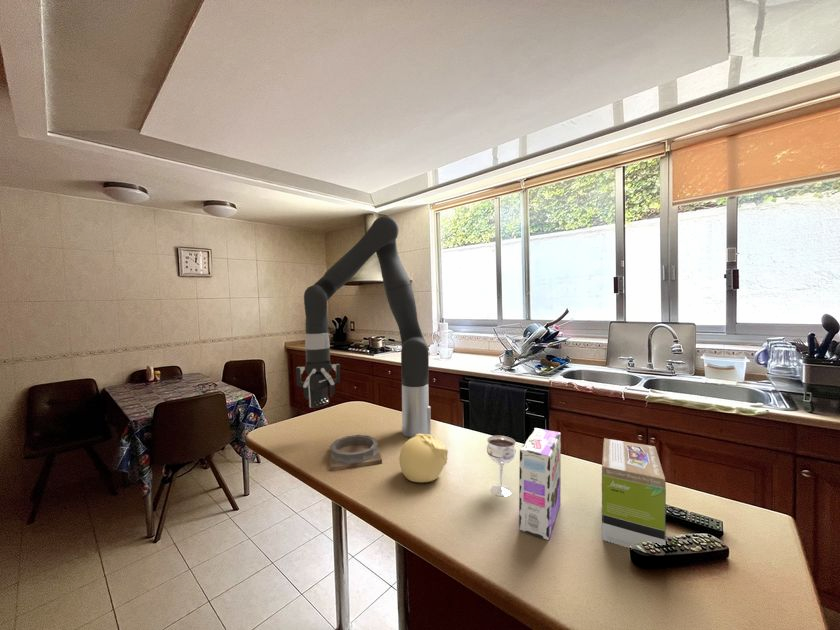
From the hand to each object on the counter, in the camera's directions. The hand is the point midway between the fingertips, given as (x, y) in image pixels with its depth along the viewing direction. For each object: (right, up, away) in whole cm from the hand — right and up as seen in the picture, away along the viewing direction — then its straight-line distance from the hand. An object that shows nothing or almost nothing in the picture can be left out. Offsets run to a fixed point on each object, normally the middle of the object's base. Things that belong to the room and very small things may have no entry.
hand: (319, 397), depth 107 cm
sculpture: (+34, -16, -22) cm, 43 cm away
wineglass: (+52, -16, -29) cm, 62 cm away
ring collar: (+13, -15, -10) cm, 22 cm away
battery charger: (0, -3, 0) cm, 3 cm away
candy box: (+58, -16, -38) cm, 72 cm away
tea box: (+75, -16, -42) cm, 87 cm away
